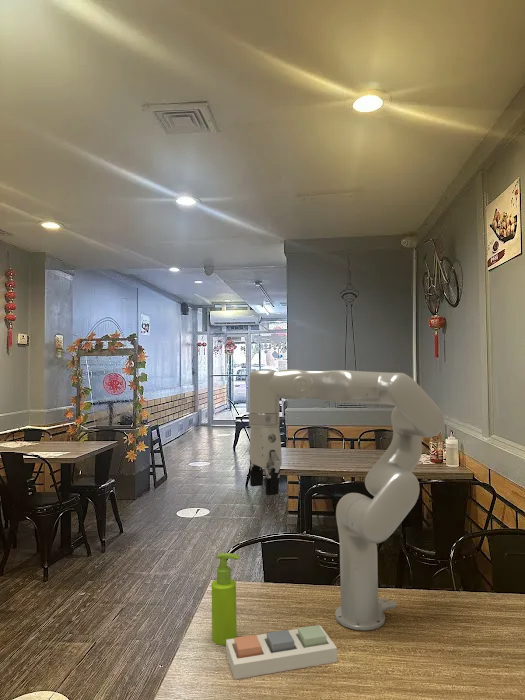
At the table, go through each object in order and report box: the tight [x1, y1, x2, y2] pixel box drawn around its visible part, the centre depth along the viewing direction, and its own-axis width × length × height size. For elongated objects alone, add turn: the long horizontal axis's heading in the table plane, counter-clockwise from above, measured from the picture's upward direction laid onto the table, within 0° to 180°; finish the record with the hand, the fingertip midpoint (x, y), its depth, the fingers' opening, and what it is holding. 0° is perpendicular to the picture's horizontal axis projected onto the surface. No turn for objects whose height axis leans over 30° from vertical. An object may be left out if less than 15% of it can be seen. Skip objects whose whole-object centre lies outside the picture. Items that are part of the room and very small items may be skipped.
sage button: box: [297, 624, 326, 648], centre depth 113 cm, size 5×5×2 cm
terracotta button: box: [234, 634, 262, 658], centre depth 109 cm, size 5×5×2 cm
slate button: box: [266, 629, 294, 653], centre depth 111 cm, size 5×5×2 cm
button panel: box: [225, 625, 338, 680], centre depth 111 cm, size 23×10×3 cm, turn 104°
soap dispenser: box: [211, 552, 241, 646], centre depth 120 cm, size 6×7×20 cm
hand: (263, 490), depth 122 cm, fingers open, 9 cm apart
